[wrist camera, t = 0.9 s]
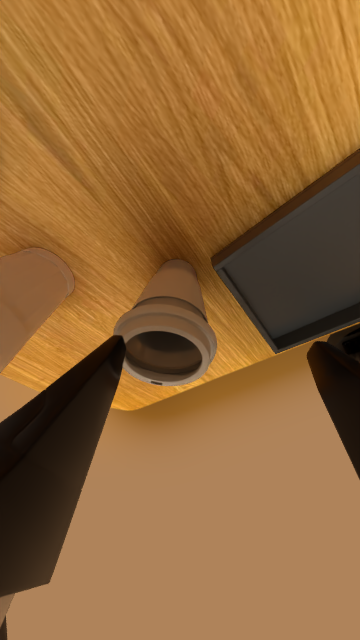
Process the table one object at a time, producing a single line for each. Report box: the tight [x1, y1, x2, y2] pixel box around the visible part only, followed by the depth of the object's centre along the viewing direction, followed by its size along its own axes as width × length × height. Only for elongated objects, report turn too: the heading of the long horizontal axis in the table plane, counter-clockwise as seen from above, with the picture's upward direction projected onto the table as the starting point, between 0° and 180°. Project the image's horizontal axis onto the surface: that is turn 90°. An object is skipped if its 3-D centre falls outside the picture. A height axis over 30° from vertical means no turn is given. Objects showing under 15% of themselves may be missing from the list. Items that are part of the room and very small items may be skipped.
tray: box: [211, 149, 360, 354], centre depth 17 cm, size 15×19×3 cm
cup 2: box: [113, 259, 217, 386], centre depth 16 cm, size 7×7×12 cm
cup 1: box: [0, 247, 75, 373], centre depth 17 cm, size 8×8×12 cm
